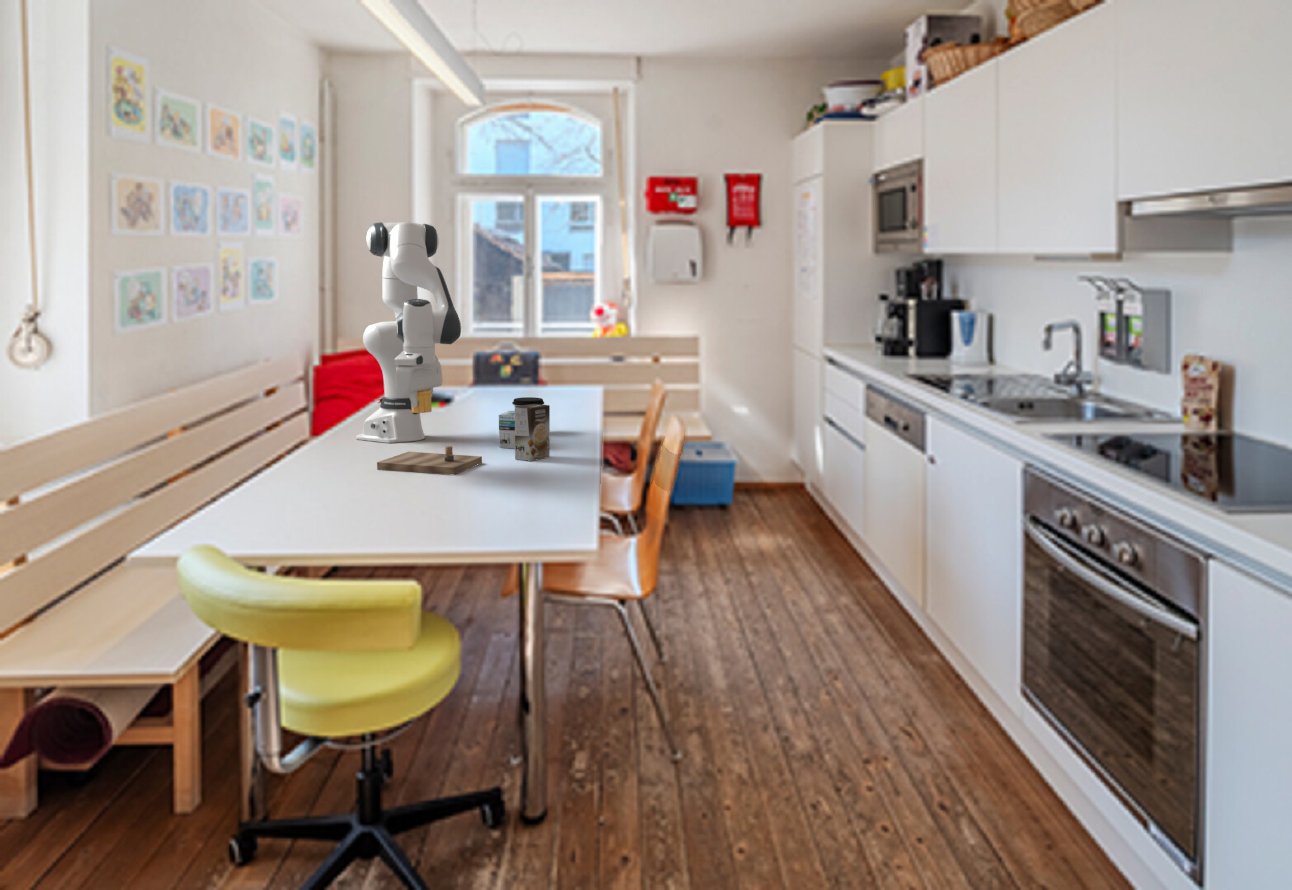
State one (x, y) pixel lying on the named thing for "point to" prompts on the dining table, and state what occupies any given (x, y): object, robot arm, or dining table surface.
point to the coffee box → (532, 432)
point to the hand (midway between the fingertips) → (421, 405)
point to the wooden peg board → (430, 462)
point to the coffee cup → (527, 401)
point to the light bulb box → (507, 430)
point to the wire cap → (423, 402)
